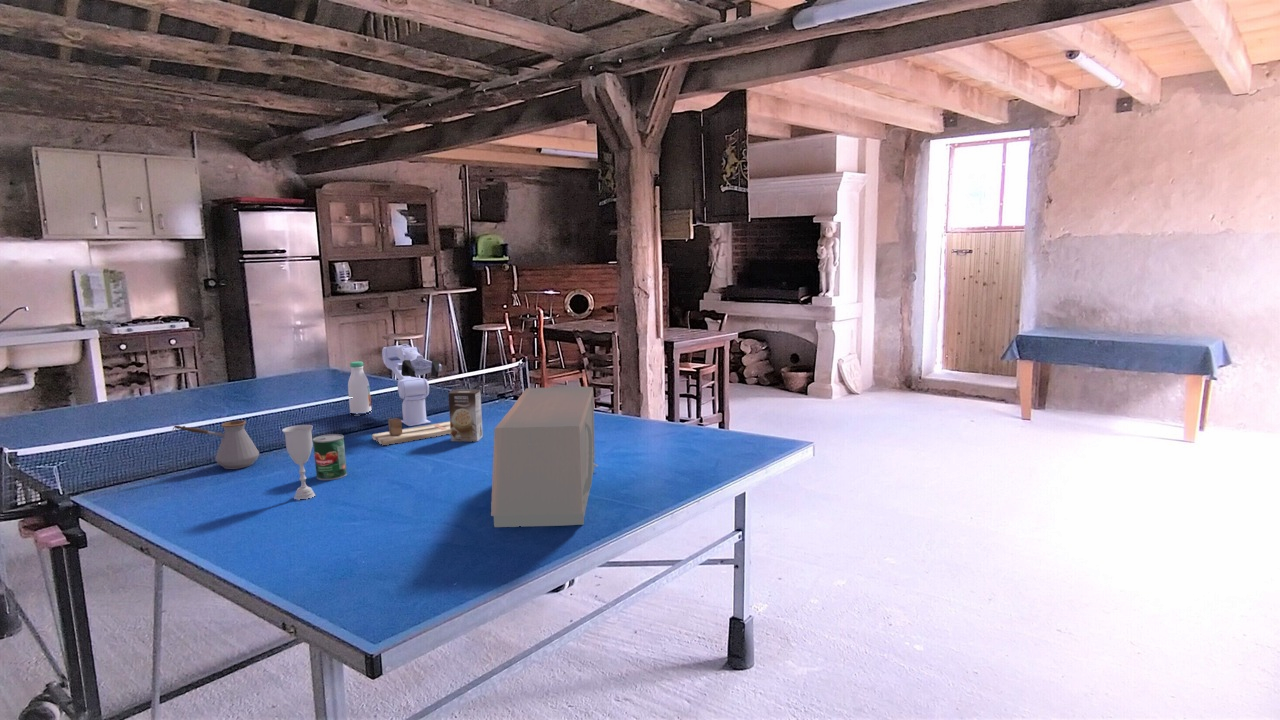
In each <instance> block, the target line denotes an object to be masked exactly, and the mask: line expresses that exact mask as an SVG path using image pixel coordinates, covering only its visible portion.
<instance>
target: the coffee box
mask: <svg viewBox="0 0 1280 720" xmlns="http://www.w3.org/2000/svg"><path fill="white" fill-rule="evenodd" d="M481 393H482V392H481V389H466V388H465V389H464V388H463V389H460V388H459V389H458V388H457V389H456V388H455V389H454V388H453V390H451V391H450V392H448V407H449V409H448V411H449V421H450V429H451V434H450V442H472V441H473V442H475V443H476V442H477V443H478V442H479V441H480V440H481V439H482V438H483V435H484V434H483V416H482V415H483V414H482V397H481V395H482V394H481ZM473 442H472V443H473Z"/></svg>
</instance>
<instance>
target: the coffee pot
mask: <svg viewBox="0 0 1280 720" xmlns="http://www.w3.org/2000/svg"><path fill="white" fill-rule="evenodd" d="M245 424H247V421H246V420H231V421H226V422H223V423H222V424H220V425H221V427H222V428H223V431H224V432H223V433H222V432H215V431H210V430H206V429H201V428H198V427H186V426H185V425H183V426H181V425H174V426H173V428H172V433H173V434H174V433H176V431H177V430H182V431H188V432H191V433H197V434H198V433H199V434H203V435H204V434H207V435H211V436H218V437H222V438H221V441H220V445H219V448H218V450H217V452H216V455H215V457H214V458H215V462H216V463H217V465H219V466H221V467H223V469H225V470H237V469H242V468H247V467H250V466H252V465H253V464H254V463H255V462H256V461H257V460H258V458H259V455H260V452H259V450H258V448H257V447H256V445H255V443H254V442H253V440H252V438H251V437H250V436H249V434H248V432H247V431H246V428H245Z"/></svg>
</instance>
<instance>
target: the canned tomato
mask: <svg viewBox="0 0 1280 720" xmlns="http://www.w3.org/2000/svg"><path fill="white" fill-rule="evenodd" d="M344 438H345V437H344V435H343V434H339V433H332V434H331V433H328V434H323V435H319V436H318V435H317V436H315V437H313V438H312V442H313V446H312V447H313V452H314V453H313V455H314V465H315V473H316V479H317V480H319V481H333V480H334V481H335V480H338V479H341V478H344V477H346V476H347V475H348V472H347V469H348V468H347V462H346V461H347V459H346V449H345V448H346V447H345V440H344Z"/></svg>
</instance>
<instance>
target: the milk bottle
mask: <svg viewBox="0 0 1280 720" xmlns="http://www.w3.org/2000/svg"><path fill="white" fill-rule="evenodd" d="M349 367H350V370H351V371H350V376H349V379H348V381H347V390H348V391H347V392H348V393H347V394H348V402H349V403H348V405H349V412H350V413H356V414H358V413H366V412H369V411H371V410H372V400H371V399H372V398H371V390H370V389H371V387H370V382H369V380H368V377H367V375H366V374H365V371H364V362H363V361H351V362H349ZM349 397H353V398H352V399H349ZM371 412H372V411H371Z"/></svg>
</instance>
